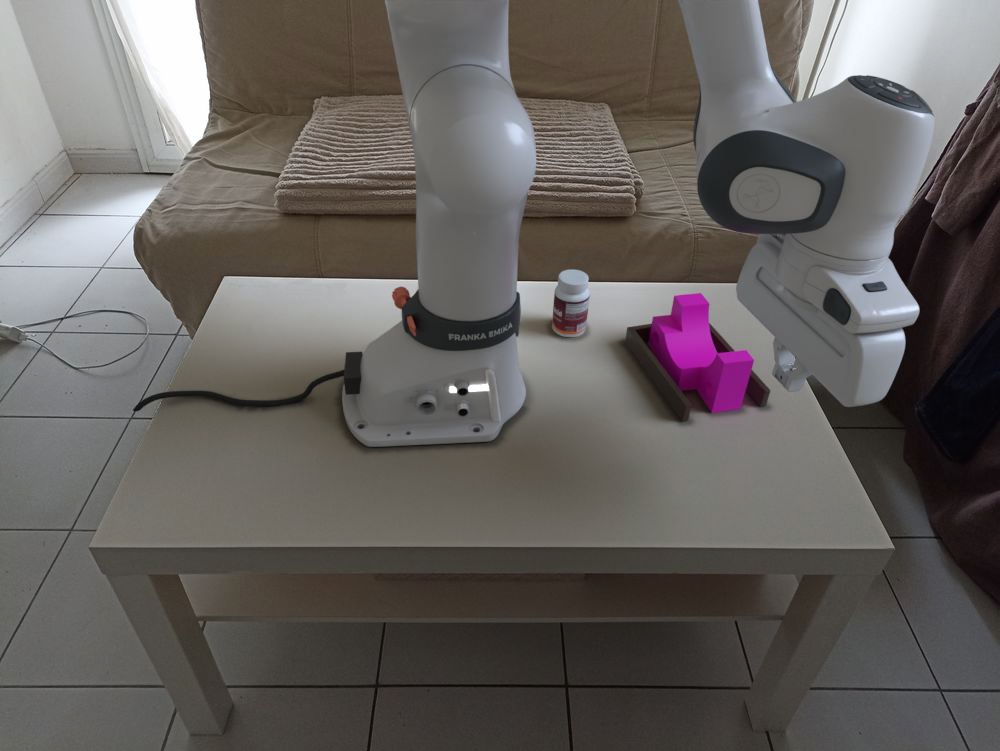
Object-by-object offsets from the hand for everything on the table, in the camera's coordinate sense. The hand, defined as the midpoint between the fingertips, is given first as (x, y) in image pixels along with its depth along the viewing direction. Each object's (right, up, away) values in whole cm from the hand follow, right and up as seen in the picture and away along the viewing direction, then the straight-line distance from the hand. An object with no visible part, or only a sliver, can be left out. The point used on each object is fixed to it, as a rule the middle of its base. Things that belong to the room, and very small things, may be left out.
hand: (786, 383), depth 77 cm
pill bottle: (-20, +7, +28) cm, 35 cm away
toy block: (-5, +1, +20) cm, 20 cm away
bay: (-5, +1, +20) cm, 21 cm away
